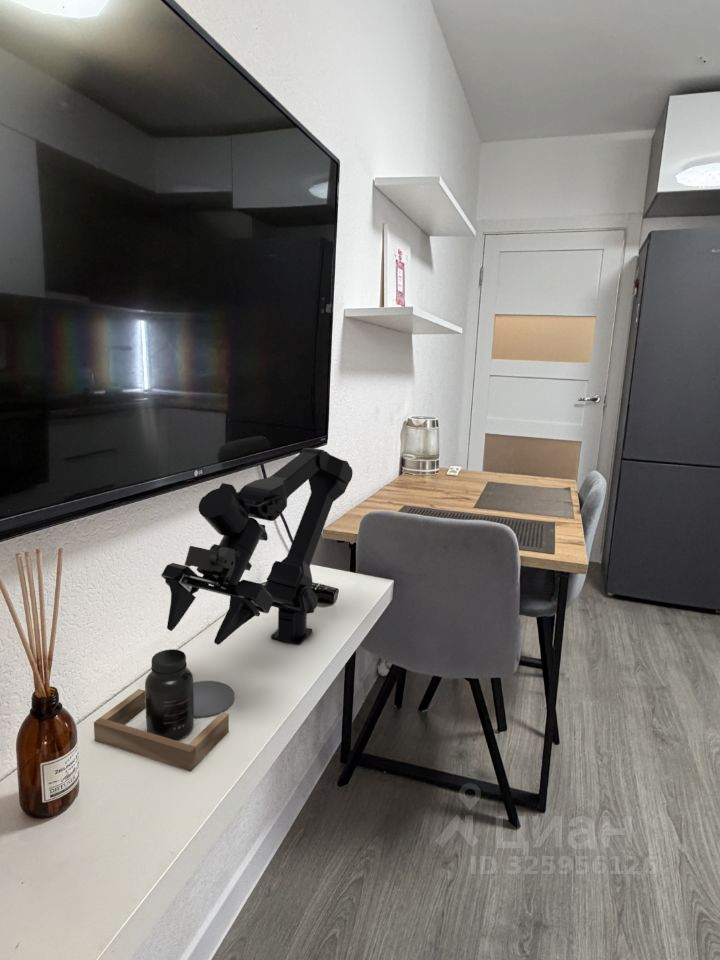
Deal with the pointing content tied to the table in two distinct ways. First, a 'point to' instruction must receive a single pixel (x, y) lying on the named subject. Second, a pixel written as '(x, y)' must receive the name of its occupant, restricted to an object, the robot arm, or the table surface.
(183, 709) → the supplement bottle
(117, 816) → the table surface
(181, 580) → the robot arm
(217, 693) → the coaster
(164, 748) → the walnut bay
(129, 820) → the table surface
